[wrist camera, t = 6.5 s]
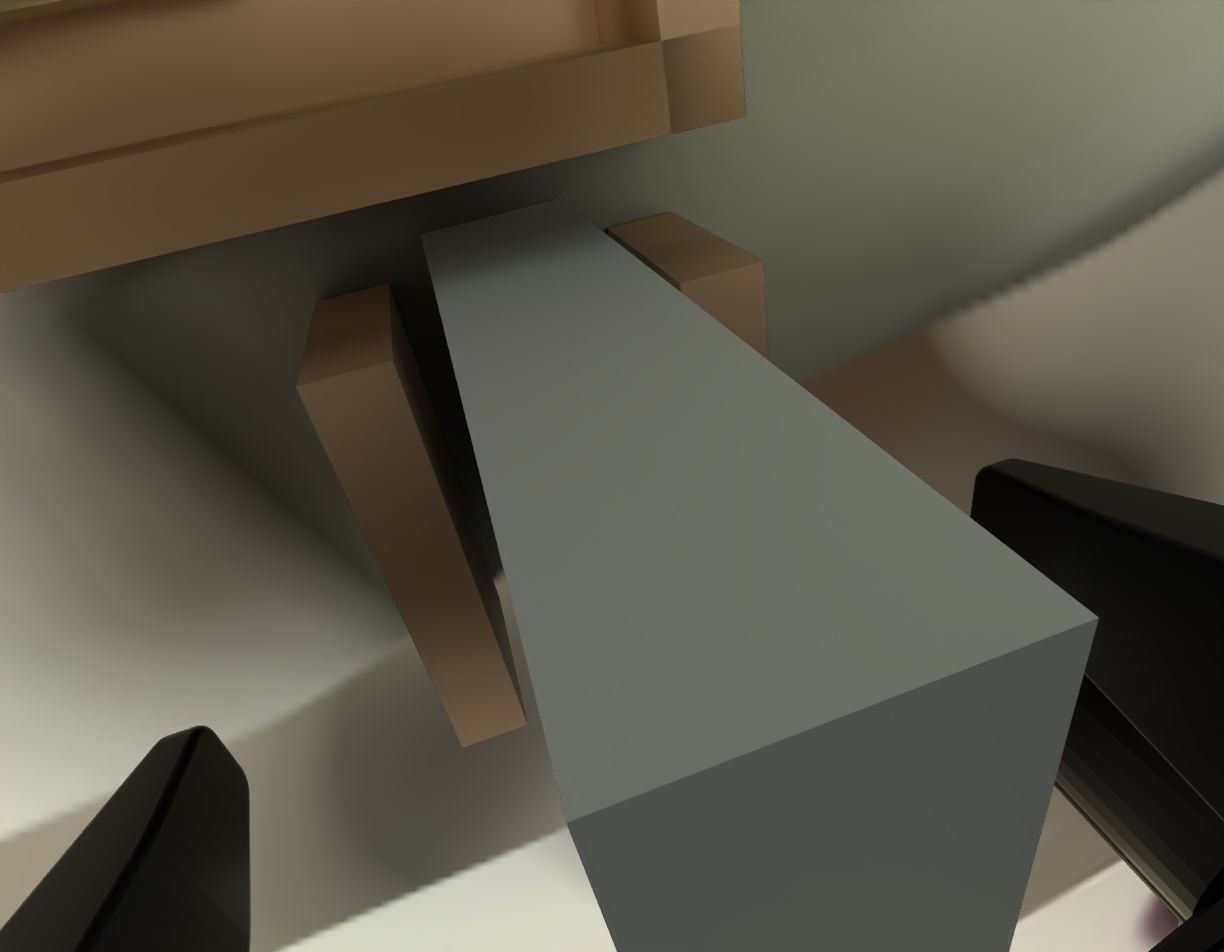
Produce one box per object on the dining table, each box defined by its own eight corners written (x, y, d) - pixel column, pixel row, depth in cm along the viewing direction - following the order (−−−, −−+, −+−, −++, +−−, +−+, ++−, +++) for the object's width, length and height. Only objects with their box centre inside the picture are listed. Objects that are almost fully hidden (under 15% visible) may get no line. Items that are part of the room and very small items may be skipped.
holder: (709, 529, 14) (783, 635, 11) (446, 614, 13) (462, 747, 11) (671, 211, 10) (763, 261, 8) (316, 302, 10) (295, 386, 7)
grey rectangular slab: (640, 569, 14) (949, 1172, 6) (541, 603, 14) (743, 1273, 6) (560, 198, 10) (1099, 618, 3) (420, 233, 10) (565, 823, 2)
